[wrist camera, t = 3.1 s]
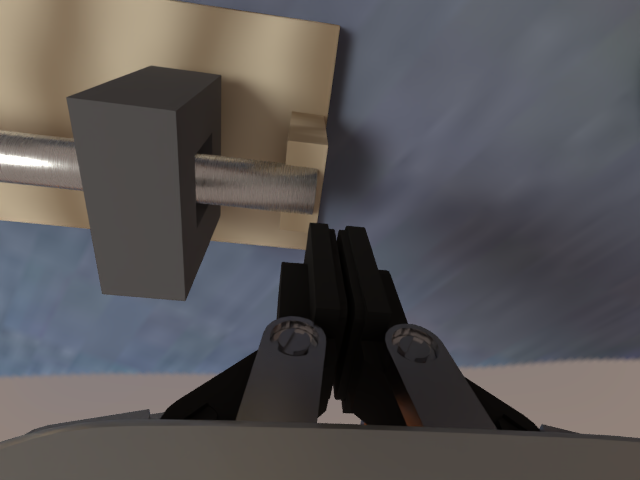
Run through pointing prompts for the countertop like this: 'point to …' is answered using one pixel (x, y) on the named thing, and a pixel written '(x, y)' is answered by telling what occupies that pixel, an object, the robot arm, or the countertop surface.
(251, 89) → the pipe stand
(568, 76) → the countertop surface
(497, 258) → the countertop surface
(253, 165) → the pipe
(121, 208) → the collar
